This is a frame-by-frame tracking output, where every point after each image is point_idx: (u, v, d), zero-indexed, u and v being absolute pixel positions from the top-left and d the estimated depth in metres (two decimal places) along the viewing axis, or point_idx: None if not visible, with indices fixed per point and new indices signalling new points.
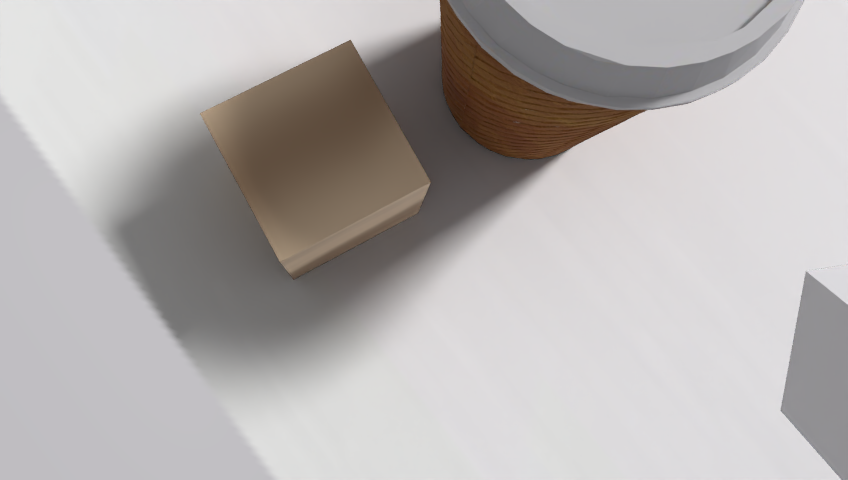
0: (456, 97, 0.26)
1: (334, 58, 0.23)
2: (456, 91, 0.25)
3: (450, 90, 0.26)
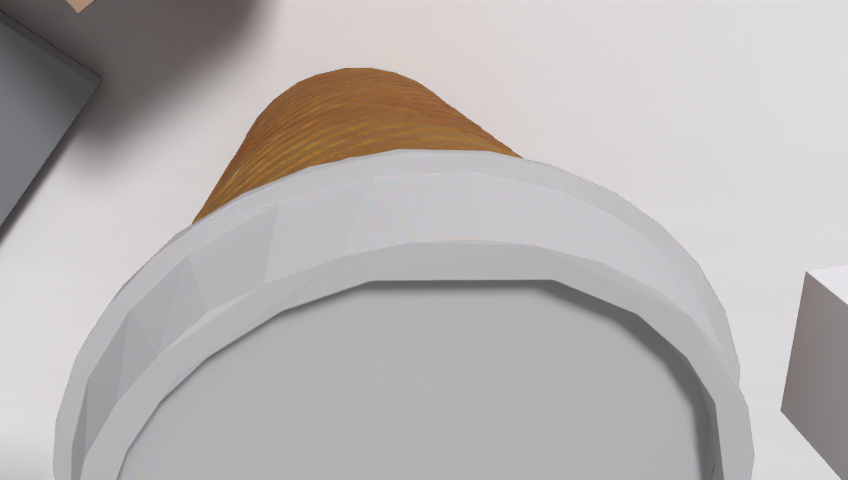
0: None
1: None
2: None
3: None
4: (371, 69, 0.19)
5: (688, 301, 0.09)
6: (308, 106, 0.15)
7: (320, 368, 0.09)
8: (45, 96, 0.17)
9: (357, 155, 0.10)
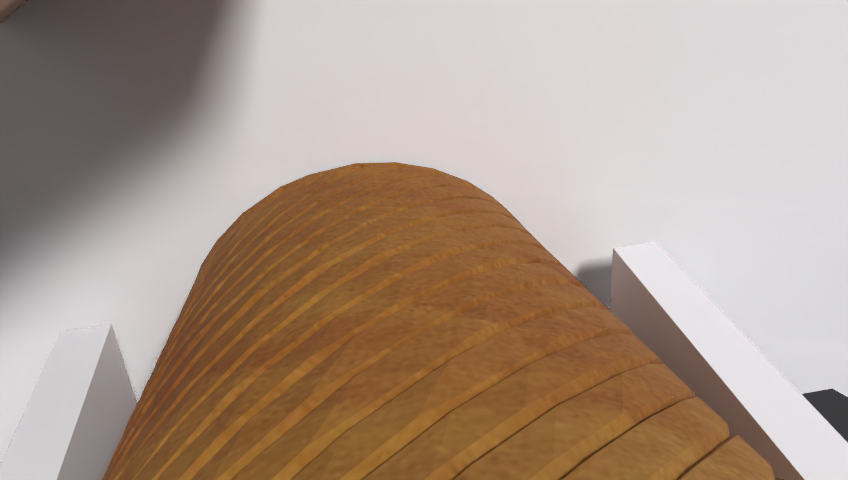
0: None
1: None
2: None
3: None
4: (396, 165, 0.12)
5: None
6: (296, 285, 0.08)
7: None
8: None
9: None
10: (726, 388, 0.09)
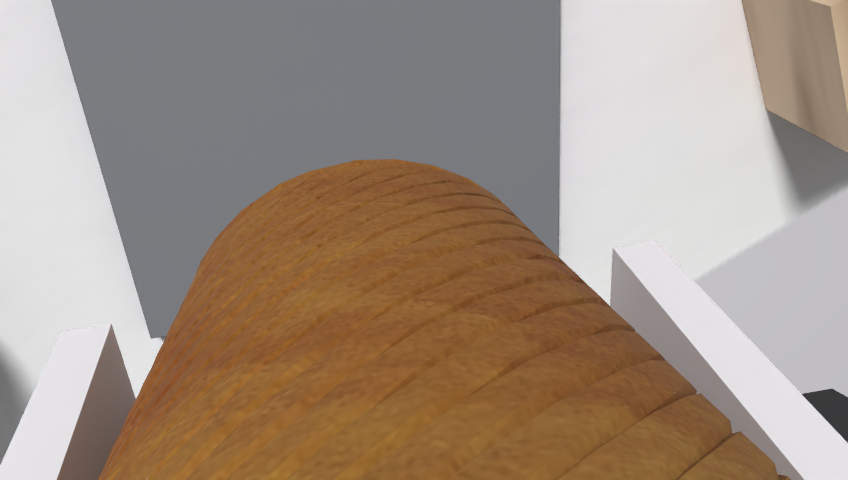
0: None
1: (844, 25, 0.21)
2: None
3: None
4: (396, 161, 0.12)
5: None
6: (296, 280, 0.08)
7: None
8: None
9: None
10: (726, 388, 0.09)
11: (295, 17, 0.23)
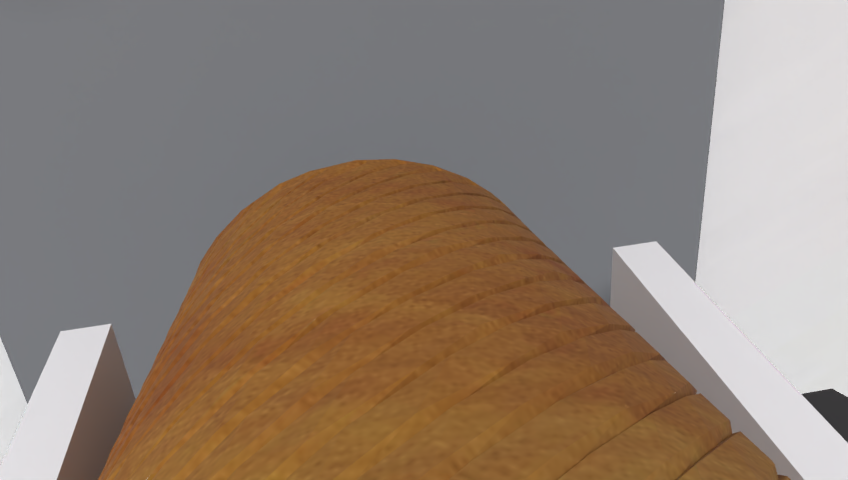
0: None
1: None
2: None
3: None
4: (396, 161, 0.12)
5: None
6: (295, 280, 0.08)
7: None
8: None
9: None
10: (726, 388, 0.09)
11: (305, 119, 0.15)
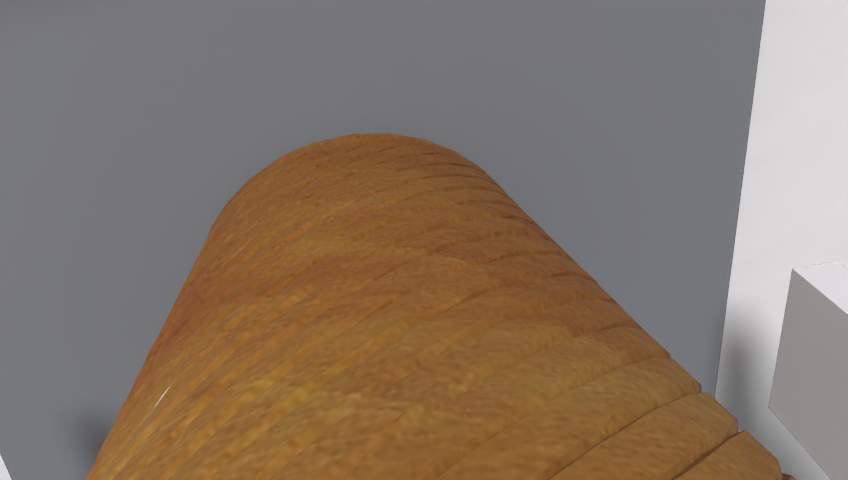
0: None
1: None
2: None
3: None
4: (390, 135, 0.13)
5: None
6: (295, 233, 0.09)
7: None
8: None
9: None
10: None
11: None
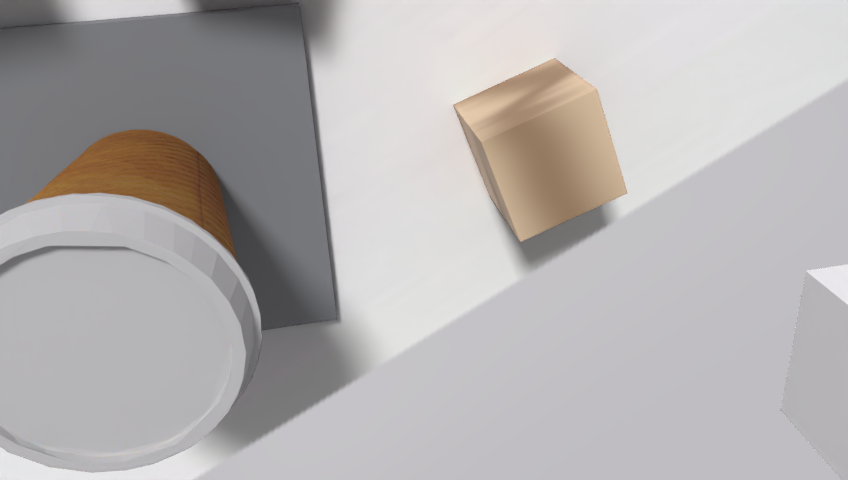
0: None
1: (494, 154, 0.31)
2: None
3: None
4: (147, 130, 0.32)
5: (197, 257, 0.22)
6: (86, 159, 0.28)
7: (37, 282, 0.22)
8: (283, 30, 0.31)
9: (72, 193, 0.23)
10: None
11: None
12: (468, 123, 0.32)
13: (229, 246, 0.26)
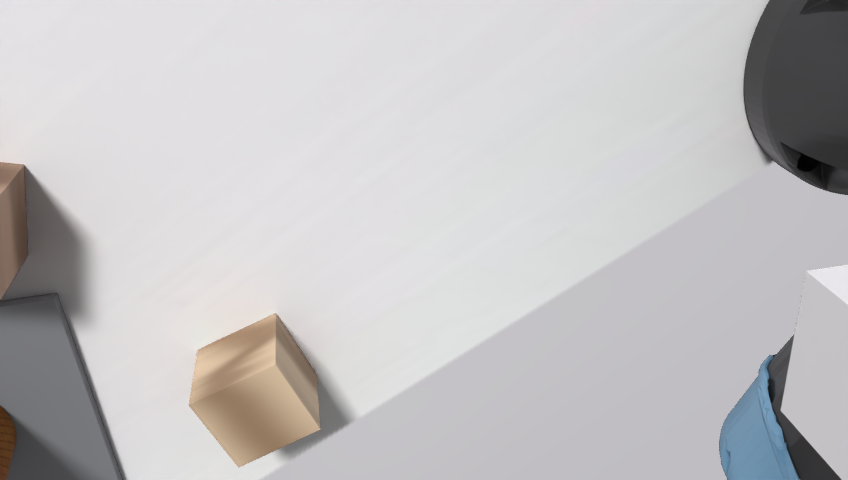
0: None
1: (201, 412, 0.40)
2: None
3: None
4: None
5: None
6: None
7: None
8: (44, 315, 0.41)
9: None
10: None
11: None
12: (193, 378, 0.42)
13: None
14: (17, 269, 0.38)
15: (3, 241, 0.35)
